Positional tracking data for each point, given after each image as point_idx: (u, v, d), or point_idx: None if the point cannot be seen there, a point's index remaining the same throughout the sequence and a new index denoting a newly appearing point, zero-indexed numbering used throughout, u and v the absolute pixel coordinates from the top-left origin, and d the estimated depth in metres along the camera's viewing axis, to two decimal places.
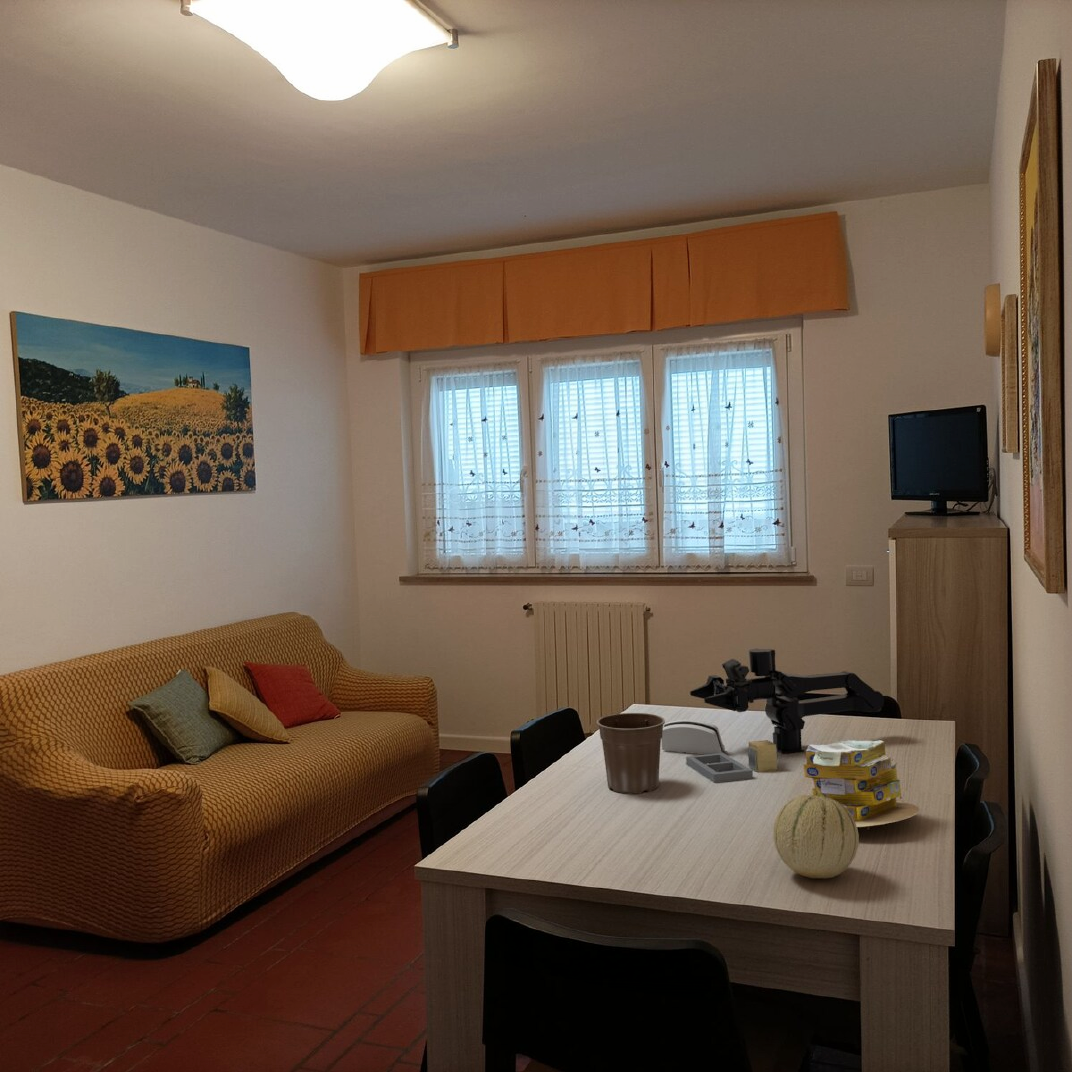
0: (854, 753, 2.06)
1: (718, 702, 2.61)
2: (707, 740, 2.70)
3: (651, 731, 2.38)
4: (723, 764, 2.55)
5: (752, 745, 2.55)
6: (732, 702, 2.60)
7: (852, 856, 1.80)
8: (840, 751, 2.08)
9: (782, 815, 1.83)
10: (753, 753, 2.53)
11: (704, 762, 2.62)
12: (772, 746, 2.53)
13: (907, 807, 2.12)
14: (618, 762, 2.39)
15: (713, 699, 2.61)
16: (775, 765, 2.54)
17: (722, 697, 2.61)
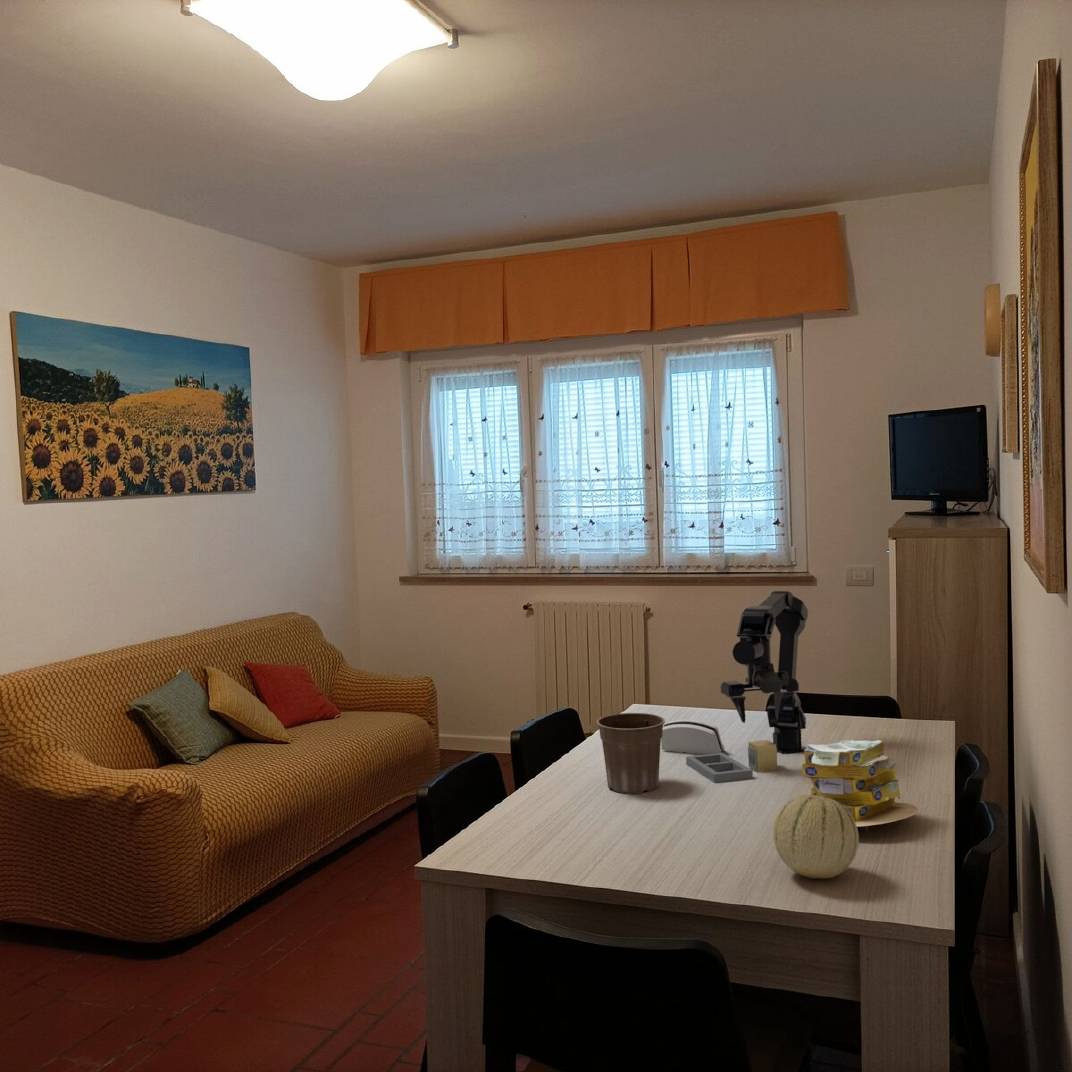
0: (853, 753, 2.06)
1: None
2: (707, 740, 2.70)
3: (651, 731, 2.38)
4: (723, 764, 2.55)
5: (752, 745, 2.55)
6: None
7: (852, 856, 1.80)
8: (838, 751, 2.08)
9: (782, 815, 1.83)
10: (753, 753, 2.53)
11: (704, 762, 2.62)
12: (772, 746, 2.53)
13: (905, 807, 2.12)
14: (618, 762, 2.39)
15: None
16: (775, 765, 2.54)
17: None
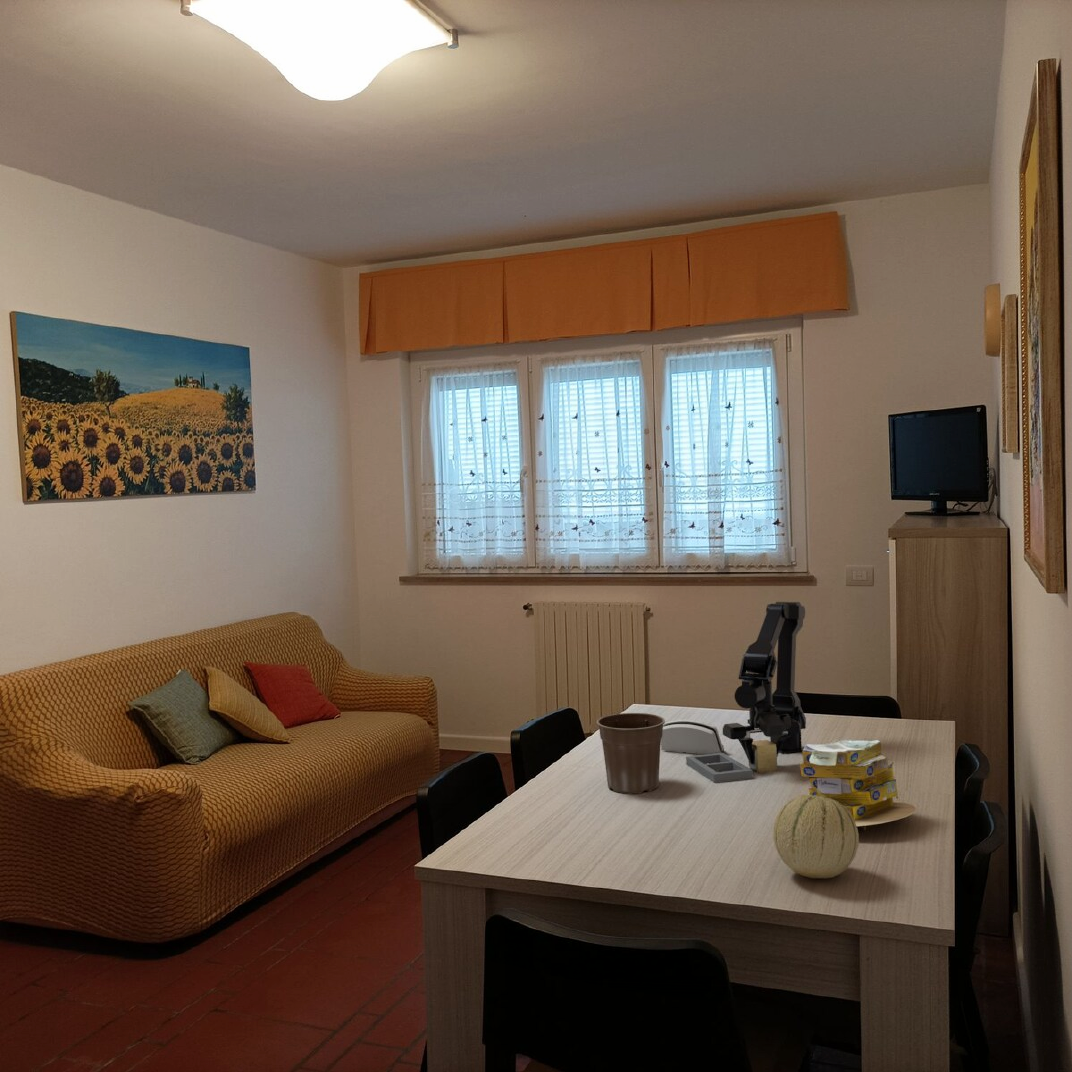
0: (851, 753, 2.06)
1: None
2: (706, 740, 2.70)
3: (651, 731, 2.38)
4: (723, 764, 2.55)
5: (752, 744, 2.55)
6: None
7: (852, 856, 1.80)
8: (836, 751, 2.08)
9: (782, 815, 1.83)
10: (753, 753, 2.53)
11: (704, 762, 2.62)
12: (772, 746, 2.53)
13: (903, 807, 2.12)
14: (618, 762, 2.39)
15: None
16: (775, 765, 2.54)
17: None
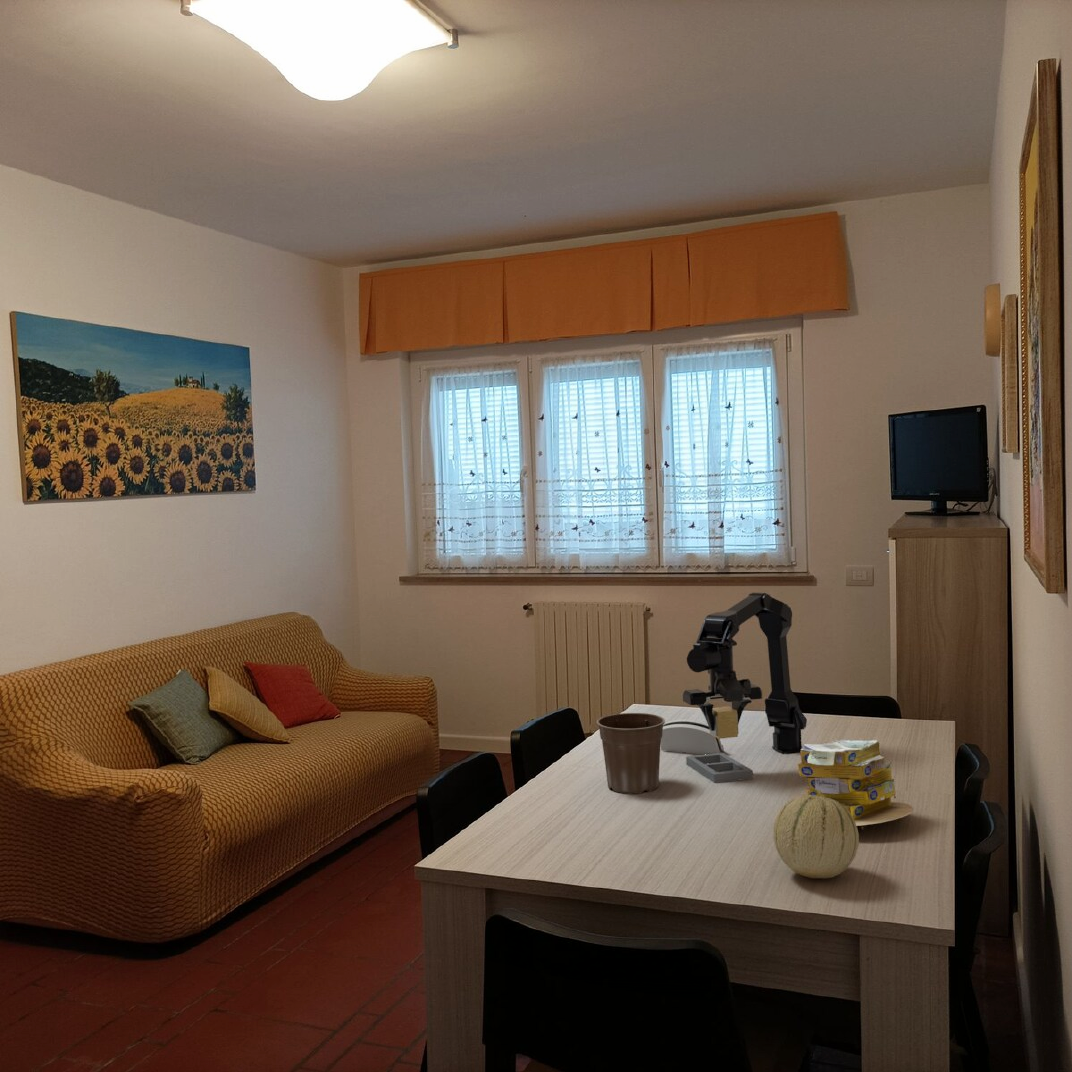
0: (848, 752, 2.07)
1: None
2: (705, 740, 2.70)
3: (651, 731, 2.38)
4: (723, 764, 2.55)
5: (713, 711, 2.50)
6: None
7: (852, 856, 1.80)
8: (834, 750, 2.08)
9: (782, 815, 1.83)
10: (714, 719, 2.49)
11: (704, 762, 2.62)
12: (733, 712, 2.48)
13: (901, 807, 2.12)
14: (618, 762, 2.39)
15: None
16: (736, 731, 2.49)
17: None
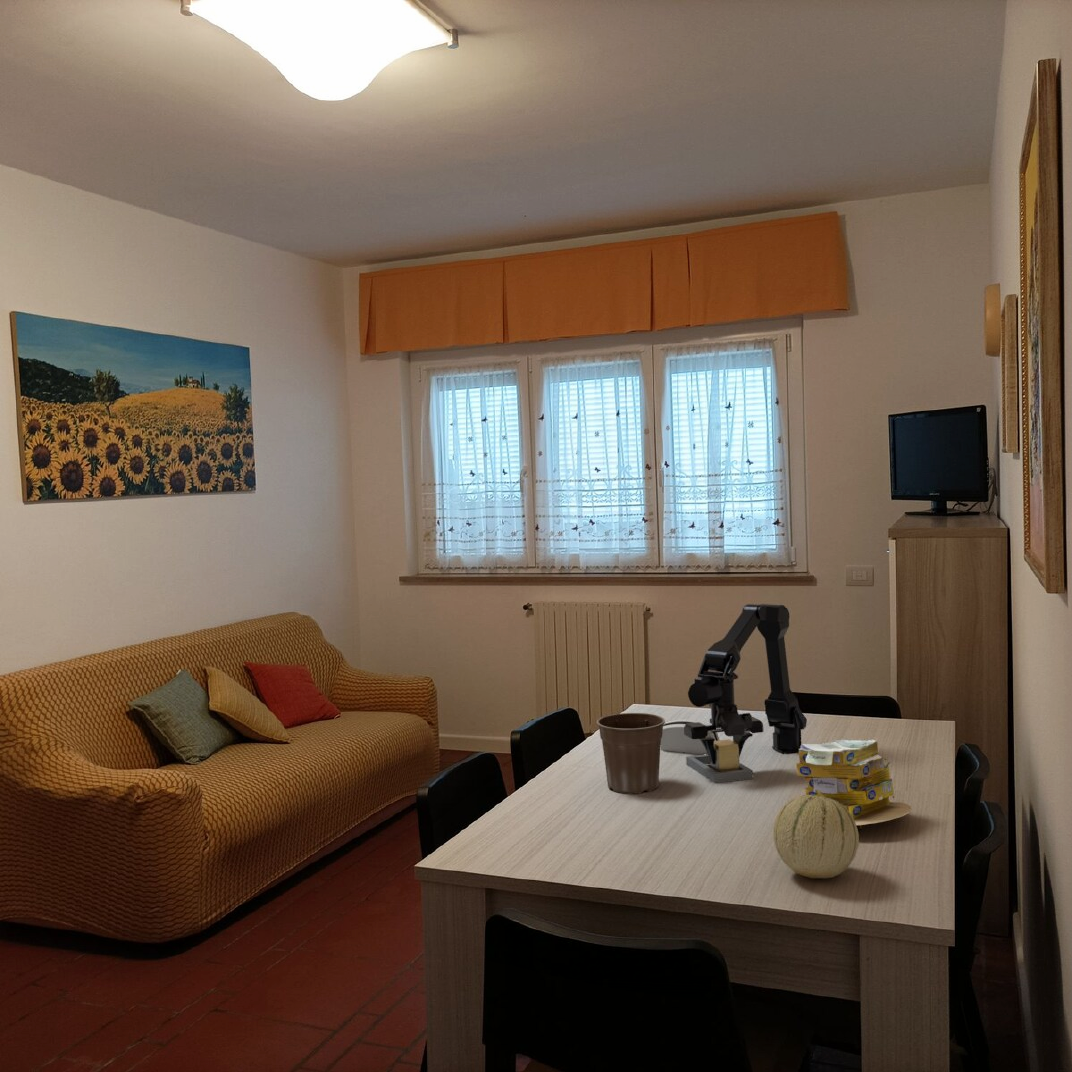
0: (846, 752, 2.07)
1: None
2: None
3: (651, 731, 2.38)
4: None
5: (714, 744, 2.50)
6: None
7: (852, 856, 1.80)
8: (832, 750, 2.08)
9: (782, 815, 1.83)
10: (715, 753, 2.49)
11: (704, 762, 2.62)
12: (734, 745, 2.49)
13: (899, 806, 2.13)
14: (618, 762, 2.39)
15: None
16: (737, 765, 2.49)
17: None
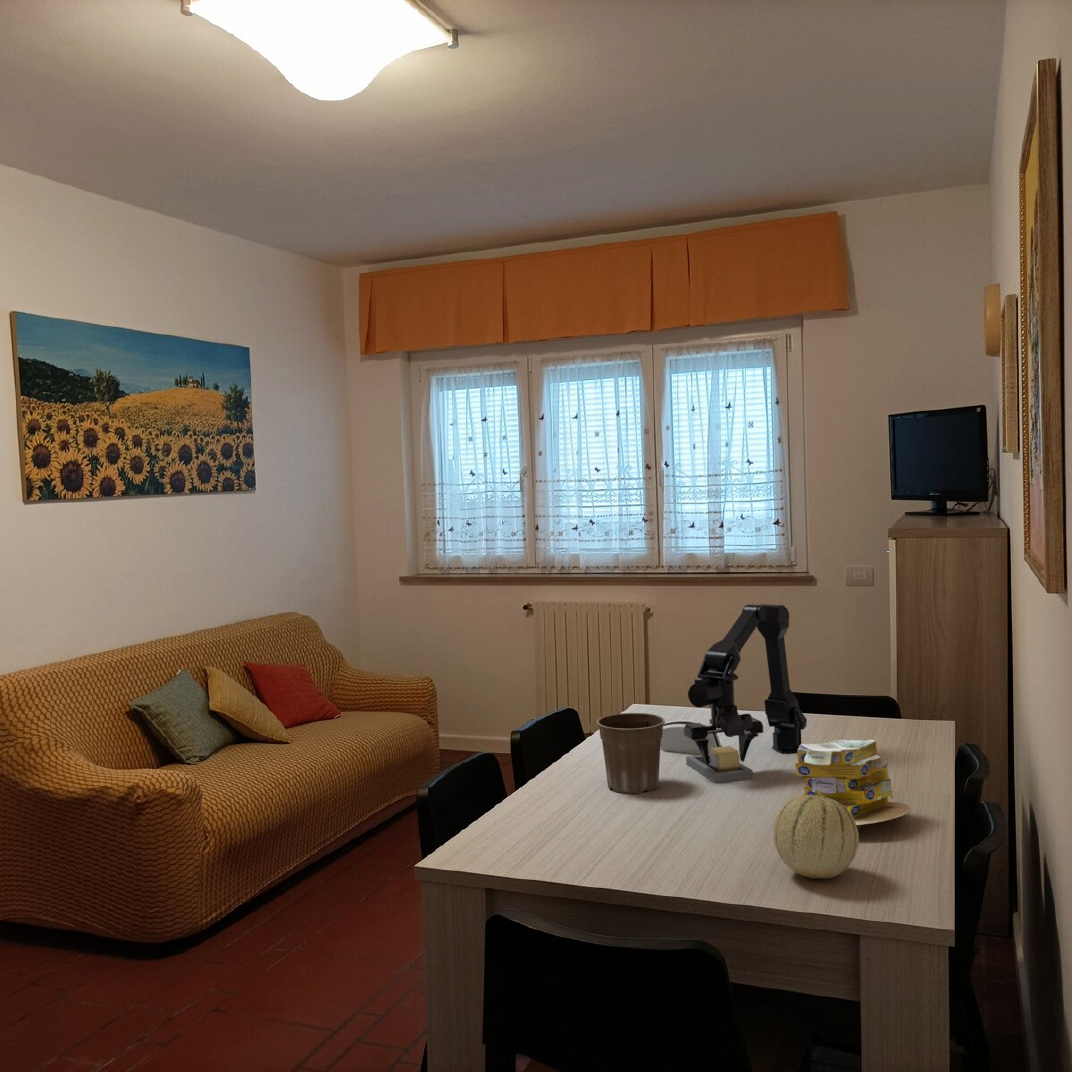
0: (845, 752, 2.07)
1: None
2: None
3: (651, 731, 2.38)
4: None
5: (714, 751, 2.50)
6: None
7: (852, 856, 1.80)
8: (831, 750, 2.09)
9: (782, 815, 1.83)
10: (716, 759, 2.49)
11: (704, 762, 2.62)
12: (734, 752, 2.49)
13: (898, 806, 2.13)
14: (618, 762, 2.39)
15: None
16: None
17: None
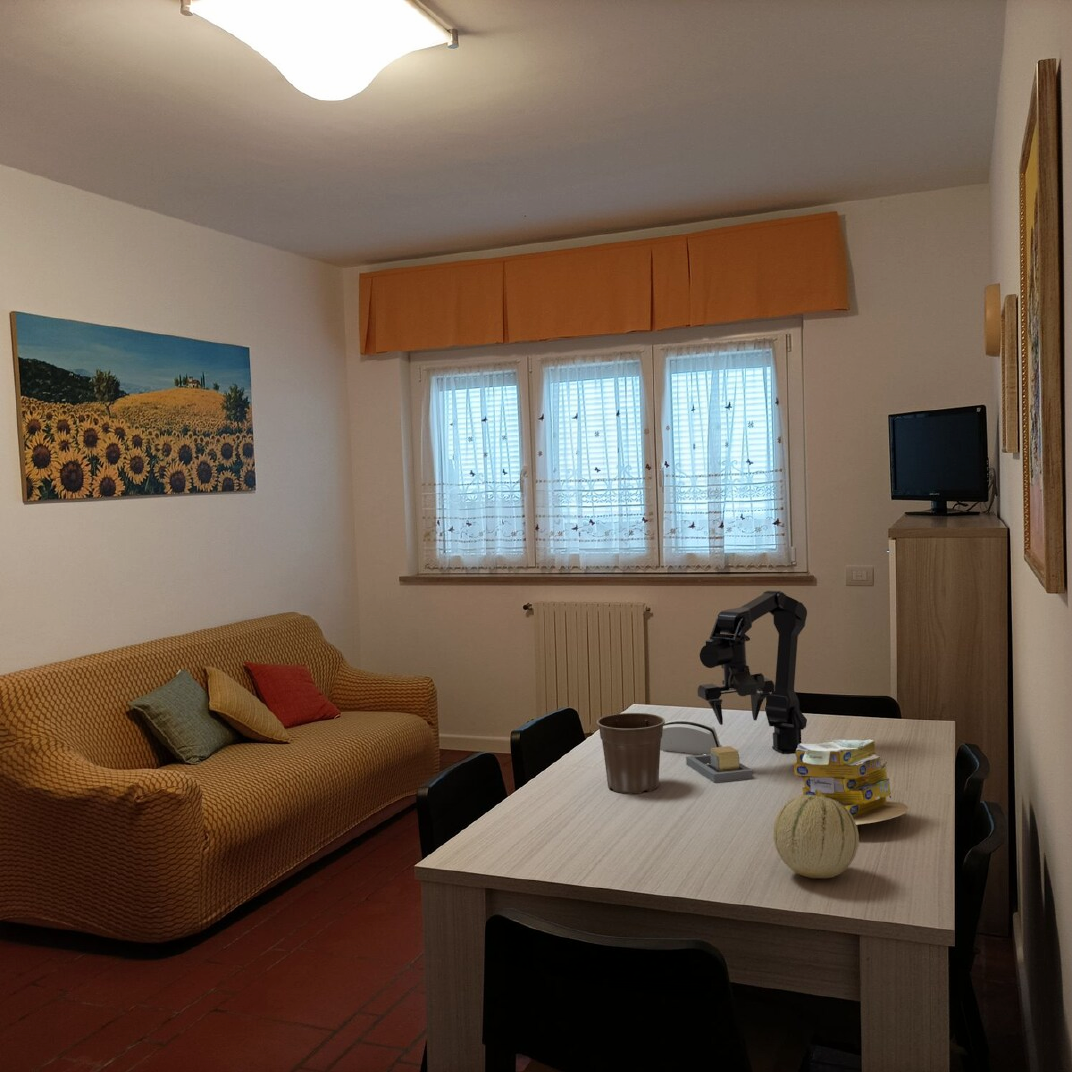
0: (843, 752, 2.07)
1: None
2: (703, 740, 2.70)
3: (651, 731, 2.38)
4: None
5: (714, 751, 2.50)
6: None
7: (852, 856, 1.80)
8: (829, 750, 2.09)
9: (782, 815, 1.83)
10: (716, 759, 2.49)
11: (704, 762, 2.62)
12: (734, 752, 2.49)
13: (896, 806, 2.13)
14: (618, 762, 2.39)
15: None
16: None
17: None
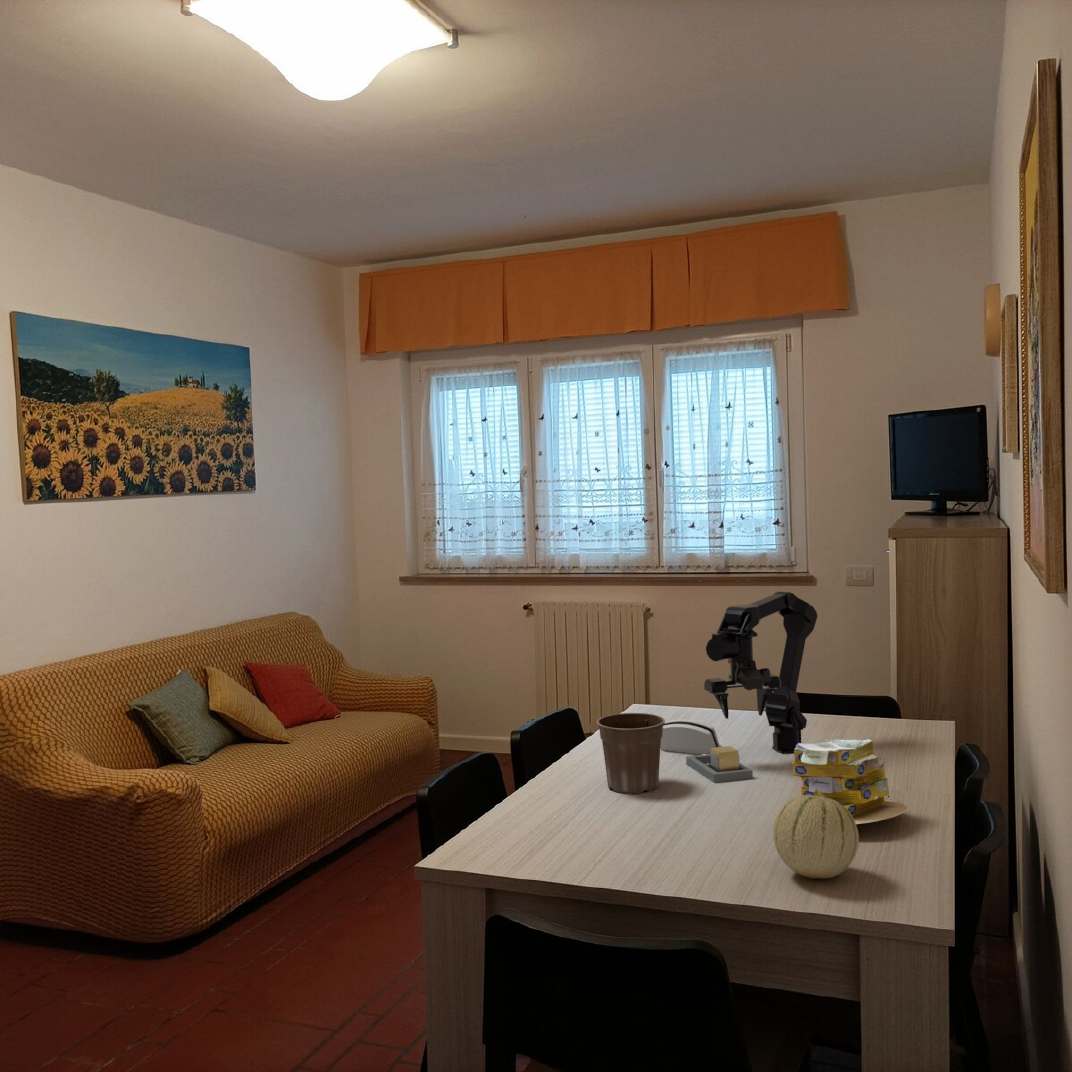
0: (841, 752, 2.07)
1: None
2: (703, 740, 2.70)
3: (651, 731, 2.38)
4: None
5: (714, 751, 2.50)
6: None
7: (852, 856, 1.80)
8: (827, 750, 2.09)
9: (782, 815, 1.83)
10: (716, 759, 2.49)
11: (704, 762, 2.62)
12: (734, 752, 2.49)
13: (895, 806, 2.13)
14: (618, 762, 2.39)
15: None
16: None
17: None
